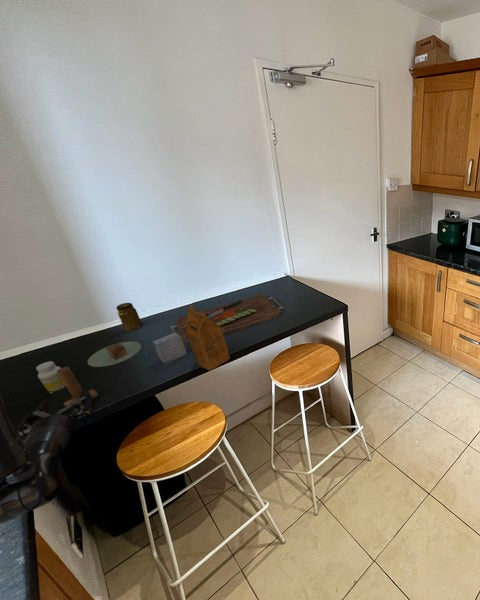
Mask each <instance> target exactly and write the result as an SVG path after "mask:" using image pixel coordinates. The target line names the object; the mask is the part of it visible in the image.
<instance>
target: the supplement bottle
mask: <svg viewBox="0 0 480 600" xmlns="http://www.w3.org/2000/svg"><path fill="white" fill-rule="evenodd" d="M61 368H62V367H60V366H58V365H56V364H55V362H54V361H50V360H49V361H46V362H43V363H41V364H38V365H37V366H36V367H35V369H36V372H37V373H38V374H37V378H38V379H39V381H40V383H42V385H43V386H44V387H45V389H46V390H47V392H48V393H49V394H53V393H54V392H59V391H61V390H63V389H65V388H67V387H66V386H65V384H64V382H63V381H62V379H61V378H60V376H59V375H58V373H57V371H58V370H59V369H61Z"/></svg>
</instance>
